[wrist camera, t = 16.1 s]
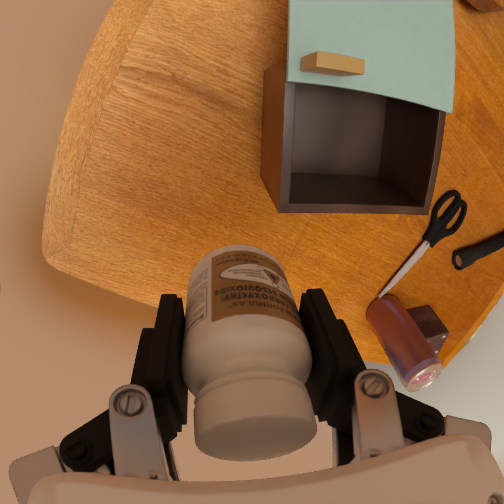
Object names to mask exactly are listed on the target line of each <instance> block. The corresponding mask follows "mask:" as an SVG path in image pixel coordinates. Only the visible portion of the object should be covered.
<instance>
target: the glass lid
mask: <svg viewBox="0 0 504 504" xmlns="http://www.w3.org/2000/svg"><path fill="white" fill-rule="evenodd" d="M286 82H295V83H306V84H315V85H324V86H331V87H338V88H345V89H351V90H357V91H362V92H368V93H373V94H378V95H383V96H387V97H392V98H396V99H400V100H404V101H408V102H412V103H416V104H420V105H423V106H427V107H430V108H434V109H437V110H440V111H443V112H447V113H450V114H452V111H453V99H454V82H455V29H454V13H453V3H452V0H288V32H287V68H286Z"/></svg>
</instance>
